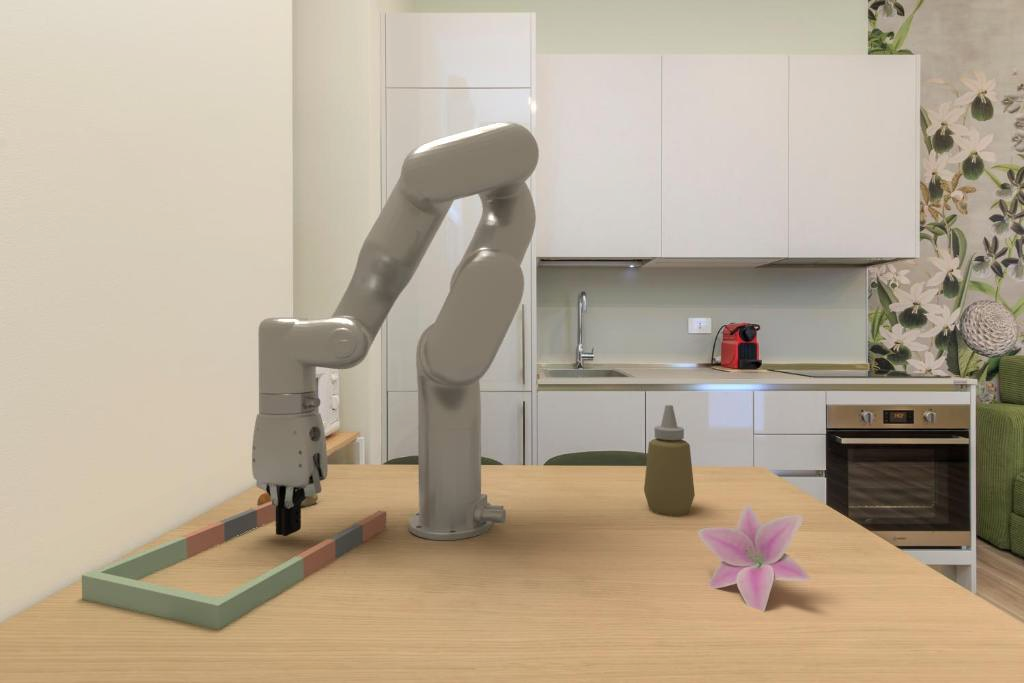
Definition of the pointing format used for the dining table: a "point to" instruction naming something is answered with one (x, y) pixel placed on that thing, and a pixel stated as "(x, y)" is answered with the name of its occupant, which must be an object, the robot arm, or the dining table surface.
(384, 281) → the robot arm
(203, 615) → the striped u-shaped rail
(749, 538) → the lily
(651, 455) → the squeeze bottle
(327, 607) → the dining table surface
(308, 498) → the pastry
